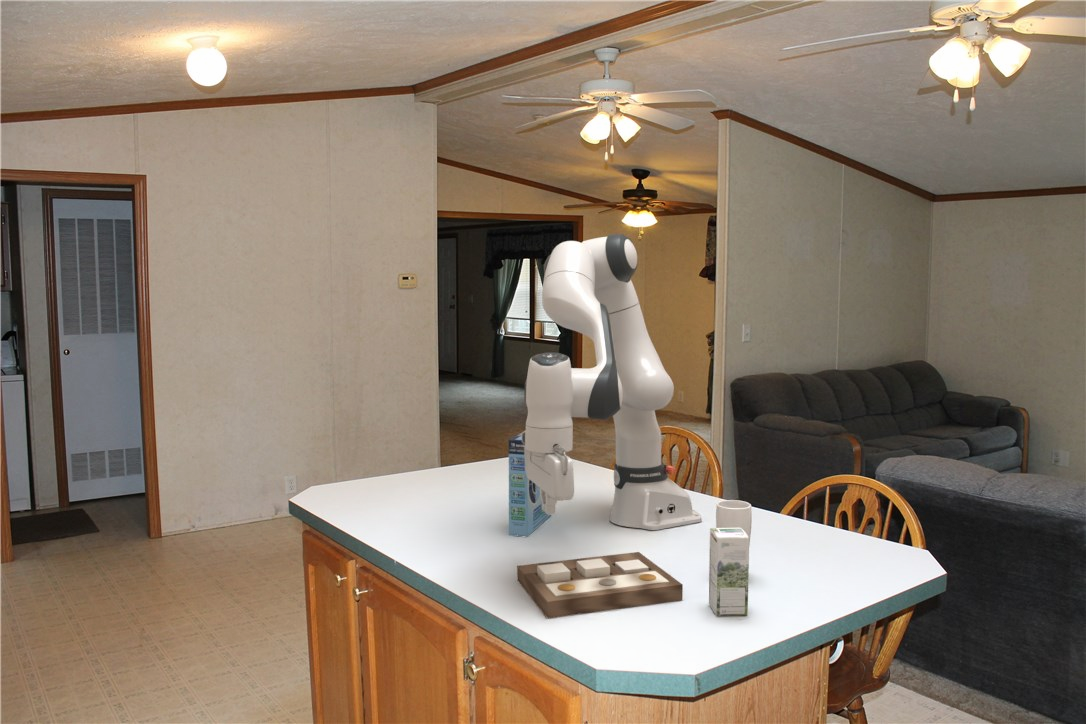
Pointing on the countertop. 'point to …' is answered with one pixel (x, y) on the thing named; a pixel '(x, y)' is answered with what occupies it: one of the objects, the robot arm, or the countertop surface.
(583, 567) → the button middle
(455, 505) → the countertop surface
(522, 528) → the gum box
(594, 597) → the button board
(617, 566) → the button
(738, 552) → the syrup box
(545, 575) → the button
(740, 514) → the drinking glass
